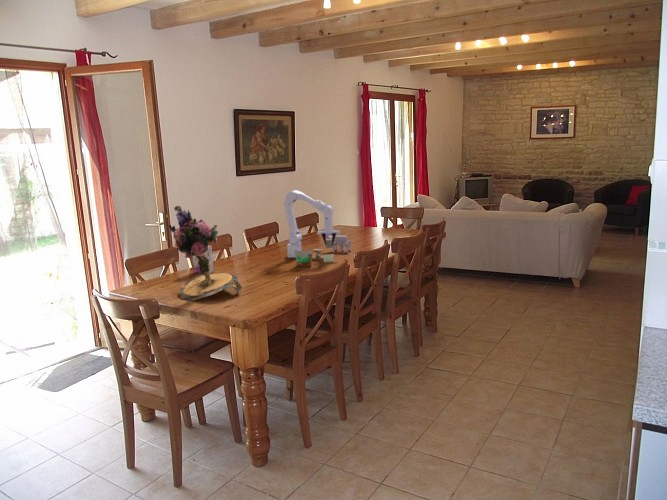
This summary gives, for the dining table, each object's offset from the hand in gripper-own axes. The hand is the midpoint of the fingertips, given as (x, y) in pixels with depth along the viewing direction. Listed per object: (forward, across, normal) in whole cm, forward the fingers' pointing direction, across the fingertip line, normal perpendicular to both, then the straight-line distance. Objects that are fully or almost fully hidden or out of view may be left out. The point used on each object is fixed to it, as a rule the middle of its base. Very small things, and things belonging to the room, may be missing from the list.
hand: (329, 244), depth 351 cm
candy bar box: (+9, -76, -31) cm, 82 cm away
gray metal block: (+2, 0, 0) cm, 2 cm away
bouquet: (+9, -61, -76) cm, 98 cm away
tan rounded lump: (+8, -8, -2) cm, 12 cm away
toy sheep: (+9, +5, +20) cm, 23 cm away
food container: (+9, -17, -23) cm, 30 cm away
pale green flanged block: (+8, -1, -10) cm, 13 cm away
